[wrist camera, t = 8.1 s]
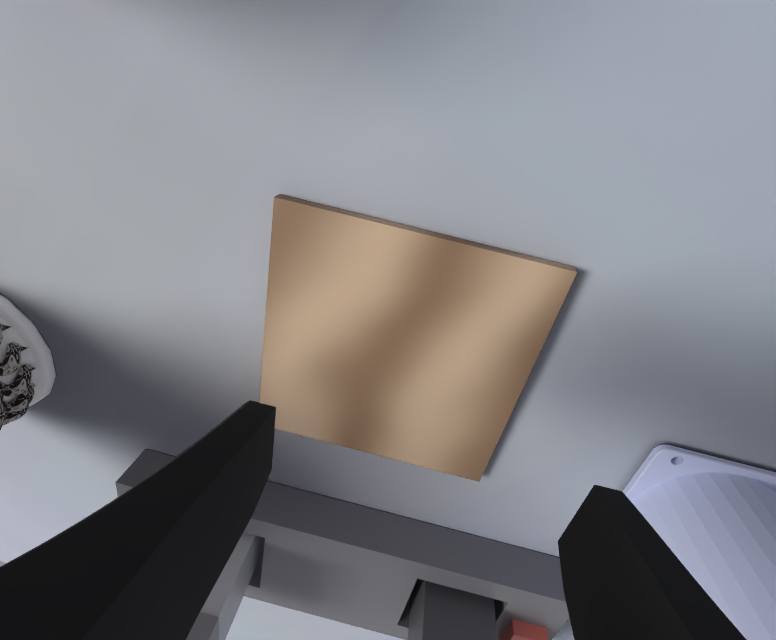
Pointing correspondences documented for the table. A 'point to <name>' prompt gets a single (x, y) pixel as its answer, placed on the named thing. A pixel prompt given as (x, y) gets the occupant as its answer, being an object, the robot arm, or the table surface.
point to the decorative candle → (21, 364)
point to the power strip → (383, 563)
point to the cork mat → (400, 335)
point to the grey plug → (228, 591)
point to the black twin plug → (450, 614)
